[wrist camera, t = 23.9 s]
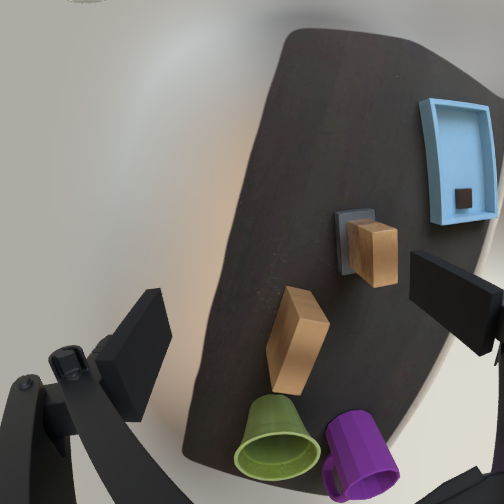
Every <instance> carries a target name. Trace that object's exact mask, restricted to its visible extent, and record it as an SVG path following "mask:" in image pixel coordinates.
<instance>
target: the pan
mask: <svg viewBox="0 0 504 504" xmlns="http://www.w3.org/2000/svg"><path fill="white" fill-rule="evenodd" d="M418 103H419V109H420V114H421V121H422V127H423V134H424V142H425V150H426V159H427V170H428V182H429V199H430V222H432V223H435V224H439V225H449V224H456V223H463V222H470V221H478V220H485V219H492V218H498V196H497V173H496V160H495V149H494V141H493V133H492V126H491V119H490V113H489V107H488V106H483V105H477V104H471V103H465V102H457V101H450V100H441V99H432V98H429V99H426V100H423V101H420V102H418ZM458 188H472V208H467V209H456V203H455V189H458Z"/></svg>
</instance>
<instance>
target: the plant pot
mask: <svg viewBox="0 0 504 504" xmlns="http://www.w3.org/2000/svg"><path fill="white" fill-rule="evenodd" d="M320 453H321V450H320V446H319V444H318V443H317V442H316V441H315V440H314V439H313V438H311V436H310V434H309V433H308V432H307V431H306V429H305V427H304V425H303V423H302V421H301V419H300V417H299V415H298V413H297V411H296V408H295V406H294V404H293V402H292V401H291V400H290V399H289V398H288V397H286V396H284V395H273V394H268V395H264V396H261V397H259V398H257V399H256V400H255V401H254V402H253V403H252V405H251V407H250V410H249V415H248V420H247V424H246V429H245V433H244V438H243V440H242V442H241V445H240V447H239V448H238V449H237V451H236V453H235V456H234V462H235V465H236V467H237V468H238V469H239V470H240V471H241V472H242V473H244V474H245V475H247V476H249V477H252V478H255V479H259V480H268V481H277V480H284V479H289V478H293V477H296V476H298V475H301V474H303V473H305V472H306V471H308V470H309V469H311V468H312V467H313V466H314V465H315V464H316V463H317V461H318V459H319V457H320Z"/></svg>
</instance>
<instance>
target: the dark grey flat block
mask: <svg viewBox="0 0 504 504" xmlns="http://www.w3.org/2000/svg"><path fill="white" fill-rule="evenodd" d="M455 203H456V209H467V208H472V188H458V189H455Z"/></svg>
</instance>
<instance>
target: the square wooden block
mask: <svg viewBox="0 0 504 504" xmlns="http://www.w3.org/2000/svg"><path fill="white" fill-rule="evenodd" d="M329 326H330V323H329V321H328V320H327V318H326V316H325V315H324V313H323V311H322V310H321V308H320V306H319V305H318V303H317V301H316V300H315V298H314V296H313V295H312V293H311V291H307V290H303V289H298V288H294V287H290V286H286V288H285V291H284V294H283V297H282V301H281V304H280V307H279V310H278V313H277V316H276V319H275V322H274V325H273V328H272V331H271V334H270V337H269V340H268V343H267V346H266V354H267V360H268V367H269V373H270V379H271V386H272V391H273V392H279V393H285V394H293V395H301V392H302V390H303V388H304V386H305V383H306V381H307V379H308V377H309V374H310V372H311V370H312V367H313V365H314V363H315V360H316V358H317V356H318V353H319V351H320V348H321V346H322V343H323V341H324V338H325V336H326V333H327V331H328V328H329Z"/></svg>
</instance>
